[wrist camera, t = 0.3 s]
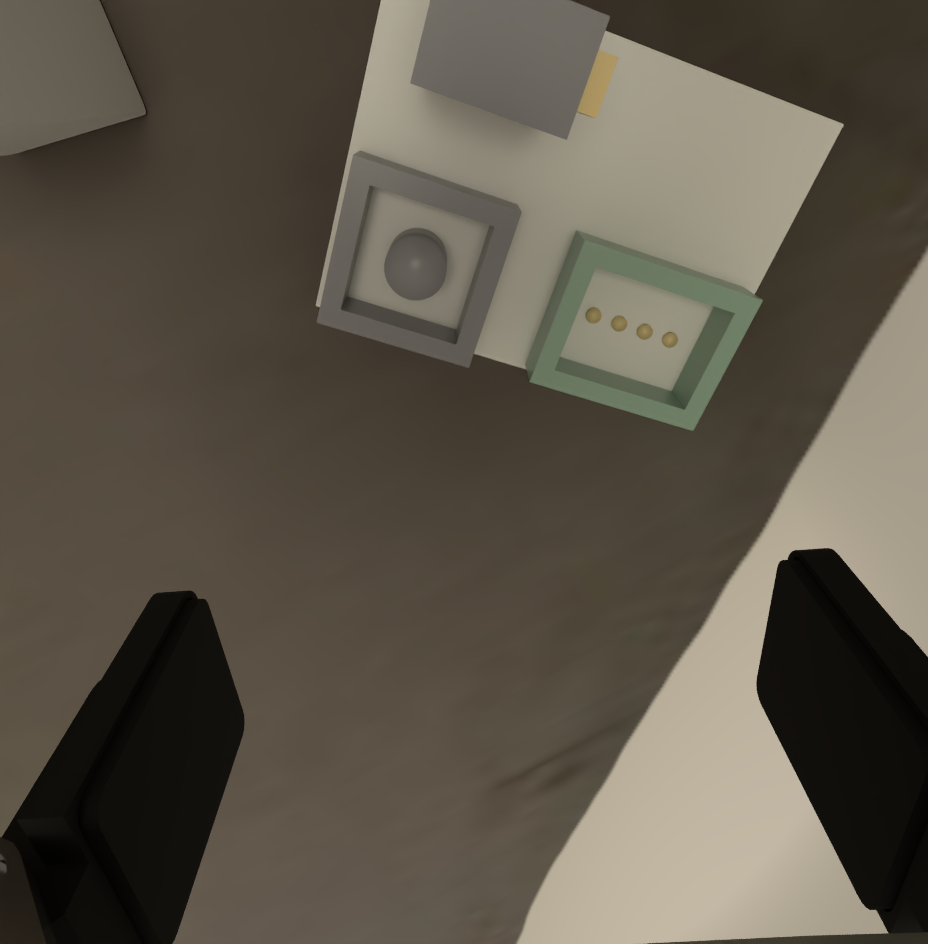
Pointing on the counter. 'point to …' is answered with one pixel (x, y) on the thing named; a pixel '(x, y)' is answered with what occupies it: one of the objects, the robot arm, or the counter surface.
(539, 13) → the plug
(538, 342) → the green rectangular frame
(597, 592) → the counter surface
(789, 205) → the board
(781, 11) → the counter surface
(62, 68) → the milk carton
